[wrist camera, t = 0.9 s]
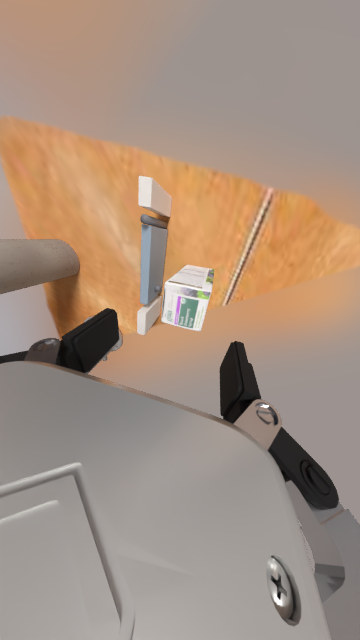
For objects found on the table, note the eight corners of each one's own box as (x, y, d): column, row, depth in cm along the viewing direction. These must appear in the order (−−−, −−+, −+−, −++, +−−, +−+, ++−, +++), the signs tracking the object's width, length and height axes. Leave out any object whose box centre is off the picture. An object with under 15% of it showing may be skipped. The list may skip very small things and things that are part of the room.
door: (165, 292, 32) (150, 308, 25) (155, 289, 32) (138, 304, 25) (174, 223, 25) (157, 216, 18) (161, 221, 25) (139, 213, 18)
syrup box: (207, 295, 31) (203, 333, 18) (181, 290, 31) (159, 323, 19) (214, 268, 28) (214, 292, 15) (185, 263, 28) (162, 282, 16)
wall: (159, 314, 36) (144, 335, 28) (153, 313, 36) (137, 333, 28) (172, 197, 24) (152, 177, 16) (163, 196, 24) (138, 175, 16)
